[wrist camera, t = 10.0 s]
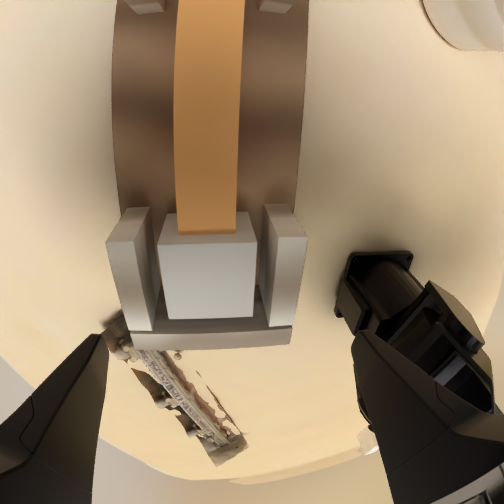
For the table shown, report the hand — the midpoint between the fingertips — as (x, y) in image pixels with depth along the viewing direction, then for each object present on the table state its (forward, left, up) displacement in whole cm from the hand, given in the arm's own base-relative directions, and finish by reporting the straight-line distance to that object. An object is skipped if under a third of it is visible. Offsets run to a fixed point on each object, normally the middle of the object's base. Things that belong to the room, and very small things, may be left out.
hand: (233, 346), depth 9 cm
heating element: (+4, +22, -12) cm, 26 cm away
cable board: (+1, -8, -11) cm, 13 cm away
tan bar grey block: (+1, -8, -10) cm, 13 cm away
